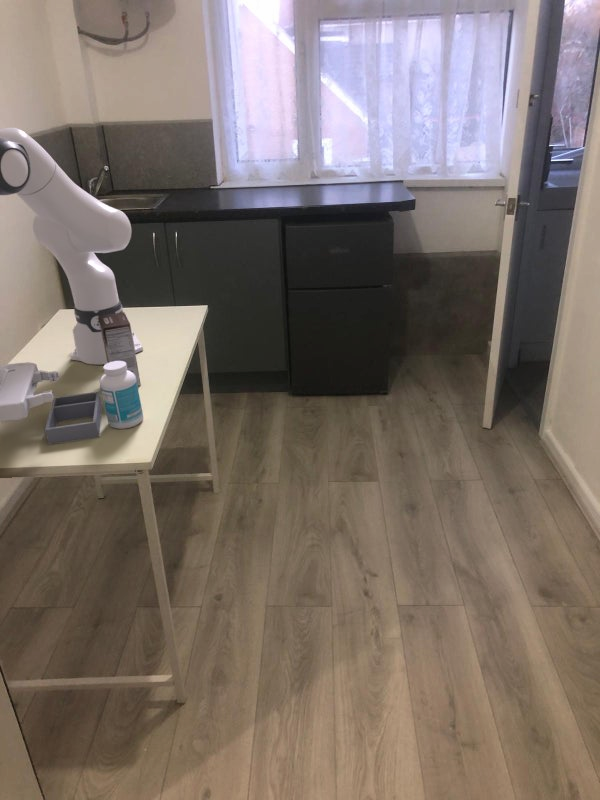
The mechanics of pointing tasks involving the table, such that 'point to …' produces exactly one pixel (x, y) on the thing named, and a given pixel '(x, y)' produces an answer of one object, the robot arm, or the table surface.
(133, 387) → the pill bottle
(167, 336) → the table surface
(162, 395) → the table surface
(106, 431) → the table surface
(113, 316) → the coffee box
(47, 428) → the parts tub
